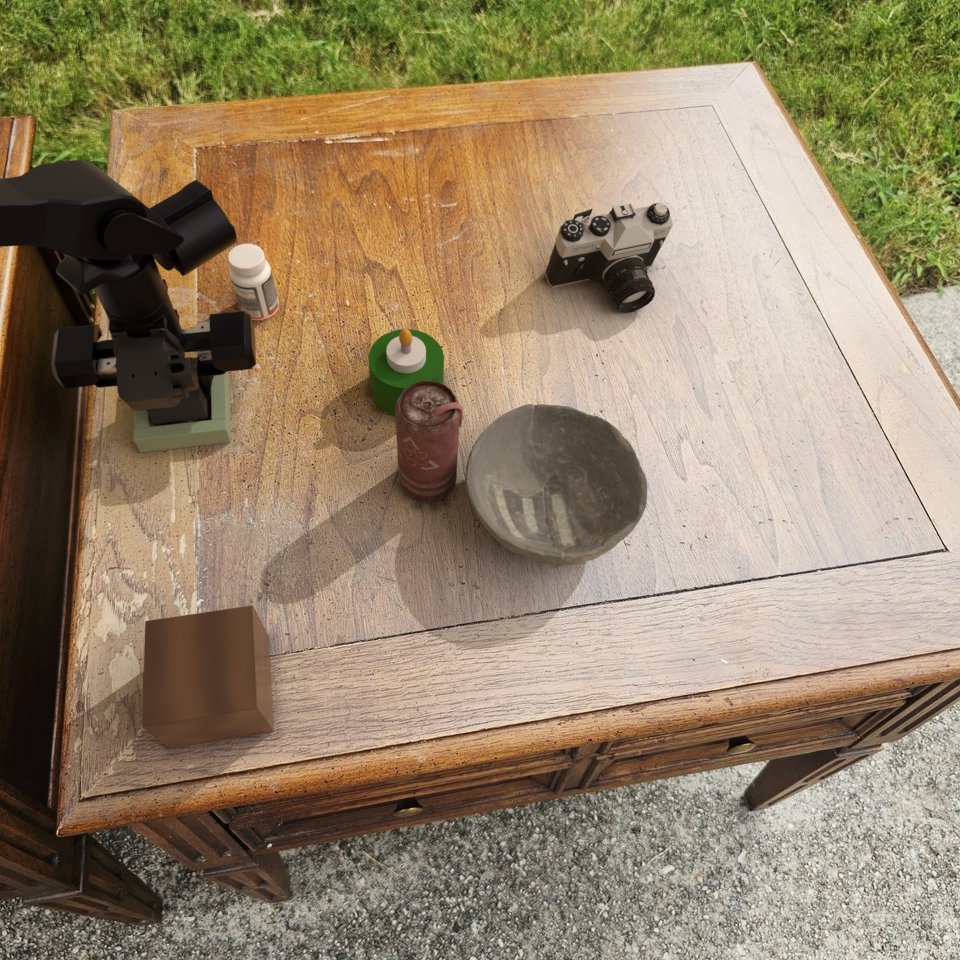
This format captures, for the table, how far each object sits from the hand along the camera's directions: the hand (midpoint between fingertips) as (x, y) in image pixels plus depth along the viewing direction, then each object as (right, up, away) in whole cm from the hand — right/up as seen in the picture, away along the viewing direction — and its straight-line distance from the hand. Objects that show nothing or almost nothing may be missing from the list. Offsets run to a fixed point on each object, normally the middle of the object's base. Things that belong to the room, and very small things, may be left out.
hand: (179, 398), depth 85 cm
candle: (+24, +2, +6) cm, 25 cm away
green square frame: (0, -1, +2) cm, 3 cm away
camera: (+49, +16, +16) cm, 54 cm away
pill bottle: (+6, +12, +11) cm, 17 cm away
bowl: (+40, -12, -1) cm, 41 cm away
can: (+27, -9, 0) cm, 28 cm away
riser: (+9, -28, -13) cm, 32 cm away
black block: (0, 0, 0) cm, 0 cm away
